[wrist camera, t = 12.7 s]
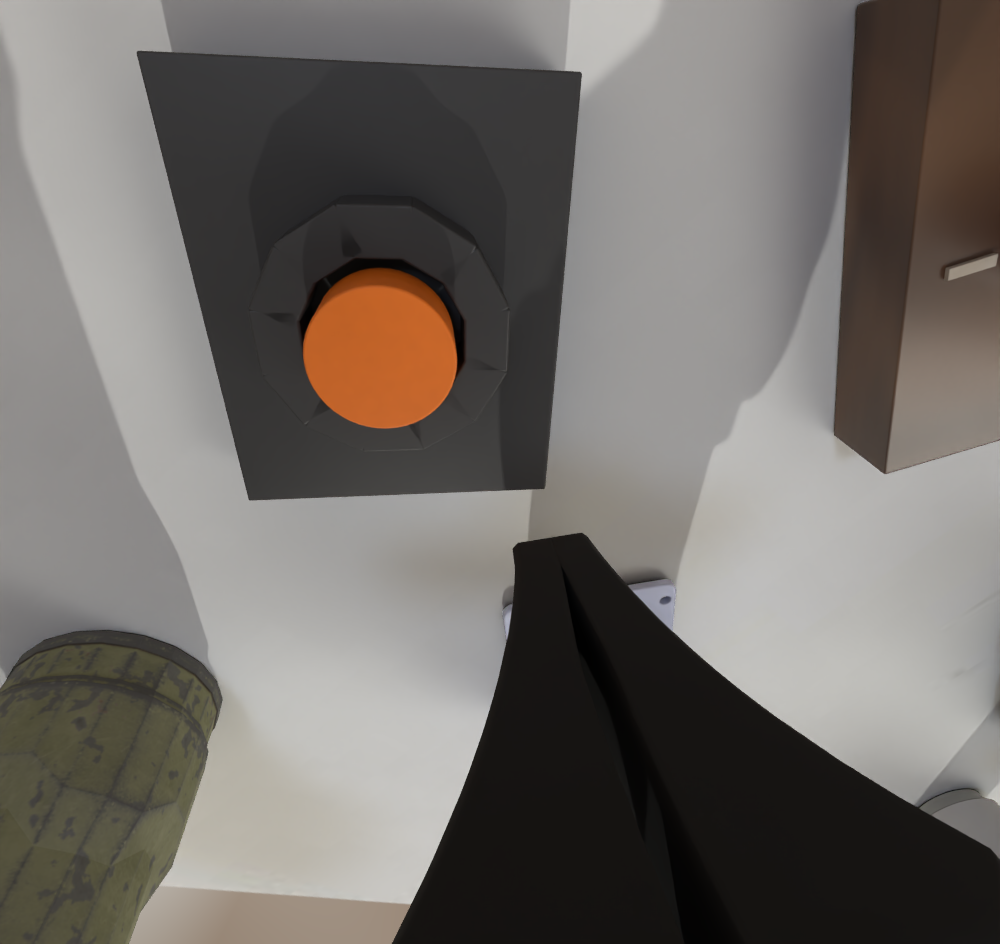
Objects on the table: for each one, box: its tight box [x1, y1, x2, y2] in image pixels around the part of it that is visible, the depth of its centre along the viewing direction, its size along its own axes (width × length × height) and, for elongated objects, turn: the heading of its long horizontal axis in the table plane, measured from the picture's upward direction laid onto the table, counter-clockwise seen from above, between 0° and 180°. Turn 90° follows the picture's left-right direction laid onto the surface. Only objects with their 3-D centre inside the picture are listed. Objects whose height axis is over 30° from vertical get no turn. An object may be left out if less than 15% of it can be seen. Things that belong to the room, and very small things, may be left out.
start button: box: [303, 268, 457, 428], centre depth 14 cm, size 4×4×2 cm
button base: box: [137, 51, 582, 500], centre depth 16 cm, size 12×10×4 cm
